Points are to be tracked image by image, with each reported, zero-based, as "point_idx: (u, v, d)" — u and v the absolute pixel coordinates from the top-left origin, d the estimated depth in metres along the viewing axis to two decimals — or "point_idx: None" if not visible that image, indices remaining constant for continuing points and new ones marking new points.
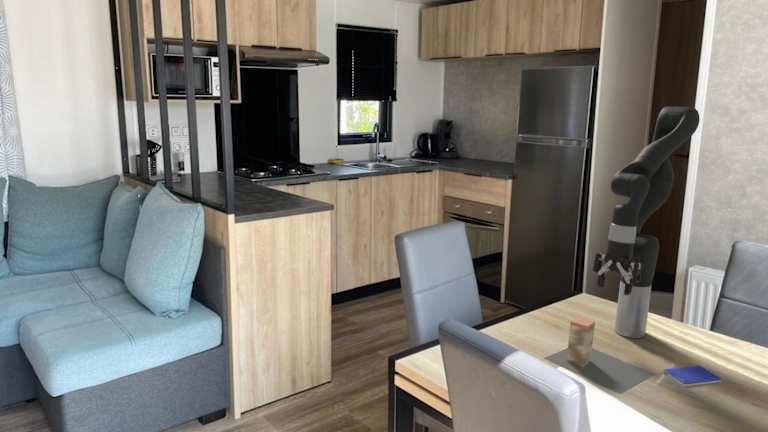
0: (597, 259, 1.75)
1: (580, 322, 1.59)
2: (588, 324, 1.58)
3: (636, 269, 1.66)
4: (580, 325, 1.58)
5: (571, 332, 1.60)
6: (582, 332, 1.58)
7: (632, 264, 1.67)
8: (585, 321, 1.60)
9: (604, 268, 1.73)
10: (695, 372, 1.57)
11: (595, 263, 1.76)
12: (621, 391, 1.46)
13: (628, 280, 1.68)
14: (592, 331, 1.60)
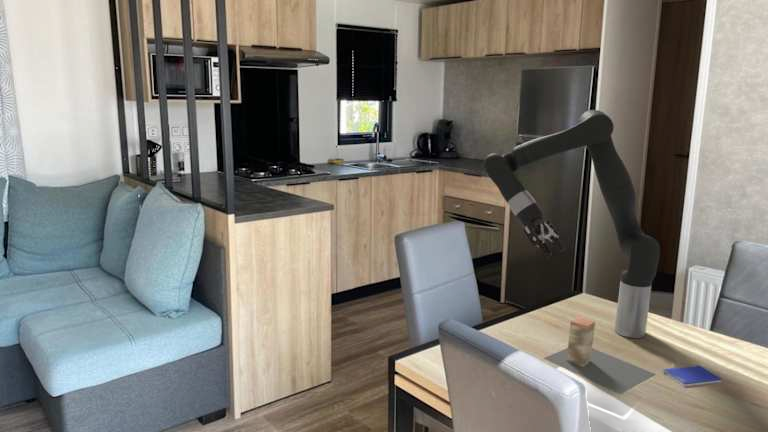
0: None
1: (580, 322, 1.59)
2: (588, 324, 1.58)
3: None
4: (580, 325, 1.58)
5: (571, 332, 1.60)
6: (582, 332, 1.58)
7: None
8: (585, 321, 1.60)
9: None
10: (694, 372, 1.57)
11: None
12: (621, 391, 1.46)
13: None
14: (592, 331, 1.60)
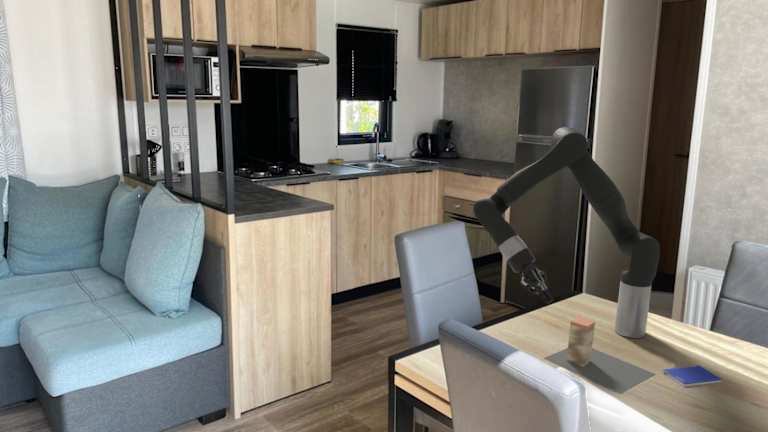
0: None
1: (580, 322, 1.59)
2: (588, 324, 1.58)
3: None
4: (580, 325, 1.58)
5: (571, 332, 1.60)
6: (582, 332, 1.58)
7: None
8: (585, 321, 1.60)
9: None
10: (694, 372, 1.57)
11: None
12: (621, 391, 1.46)
13: None
14: (592, 331, 1.60)
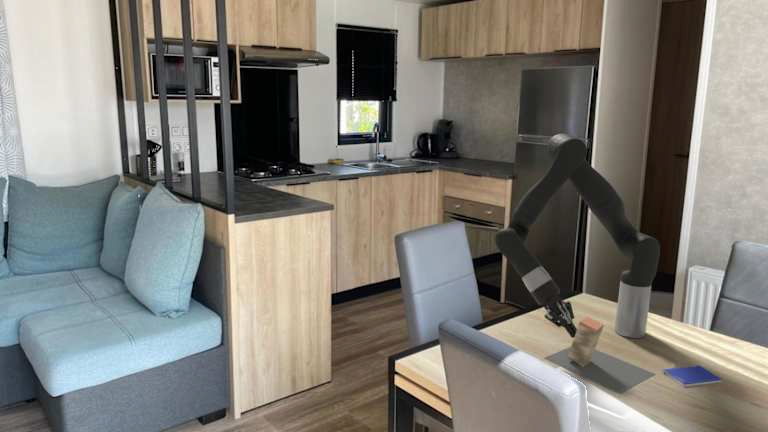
0: None
1: (589, 324, 1.57)
2: (597, 327, 1.56)
3: None
4: (589, 327, 1.56)
5: (578, 332, 1.59)
6: (589, 334, 1.56)
7: None
8: (594, 324, 1.58)
9: None
10: (694, 372, 1.57)
11: None
12: (621, 391, 1.46)
13: None
14: (599, 334, 1.58)
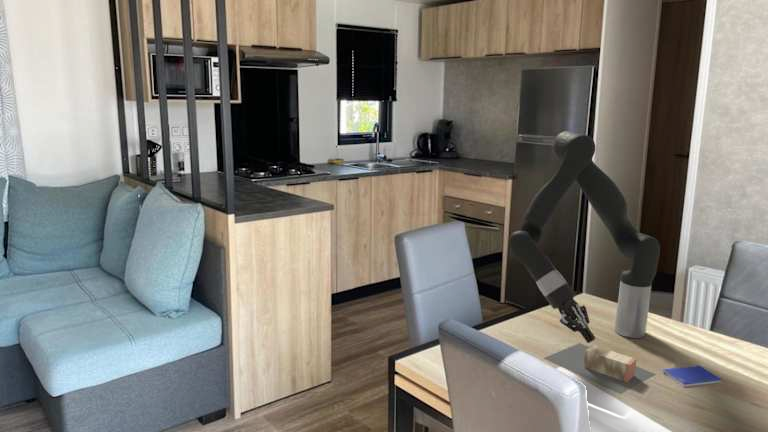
0: None
1: (630, 372, 1.51)
2: (629, 378, 1.52)
3: None
4: (627, 374, 1.51)
5: (617, 363, 1.52)
6: (619, 374, 1.52)
7: None
8: (632, 372, 1.52)
9: None
10: (694, 372, 1.57)
11: None
12: (621, 391, 1.46)
13: None
14: None
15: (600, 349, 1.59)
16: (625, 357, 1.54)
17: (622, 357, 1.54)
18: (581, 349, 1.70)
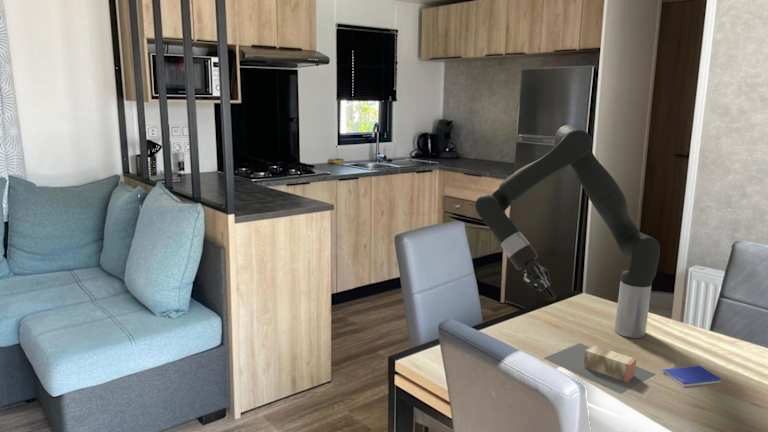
0: None
1: (630, 372, 1.51)
2: (629, 378, 1.52)
3: None
4: (627, 374, 1.51)
5: (617, 363, 1.52)
6: (619, 374, 1.52)
7: None
8: (632, 372, 1.52)
9: None
10: (694, 372, 1.57)
11: None
12: (621, 391, 1.46)
13: None
14: None
15: (600, 349, 1.59)
16: (625, 357, 1.54)
17: (622, 357, 1.54)
18: (581, 349, 1.70)
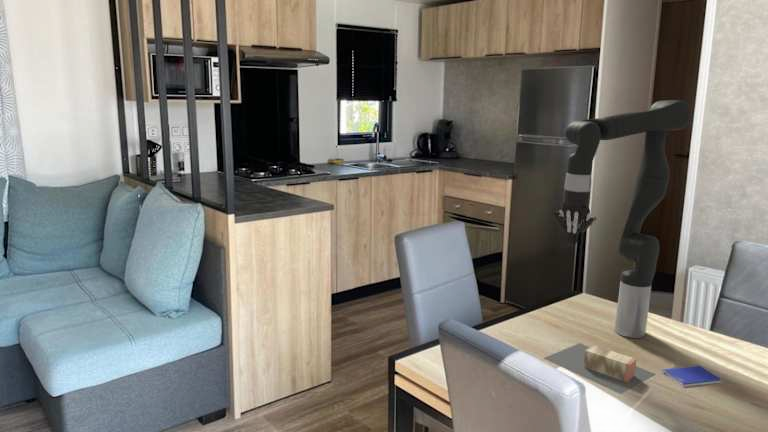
0: (558, 217, 1.73)
1: (630, 372, 1.51)
2: (629, 378, 1.52)
3: (589, 223, 1.67)
4: (627, 374, 1.51)
5: (617, 363, 1.52)
6: (619, 374, 1.52)
7: (588, 216, 1.67)
8: (632, 372, 1.52)
9: (569, 222, 1.71)
10: (694, 372, 1.57)
11: (560, 221, 1.73)
12: (621, 391, 1.46)
13: (575, 231, 1.70)
14: None
15: (600, 349, 1.59)
16: (625, 357, 1.54)
17: (622, 357, 1.54)
18: (581, 349, 1.70)
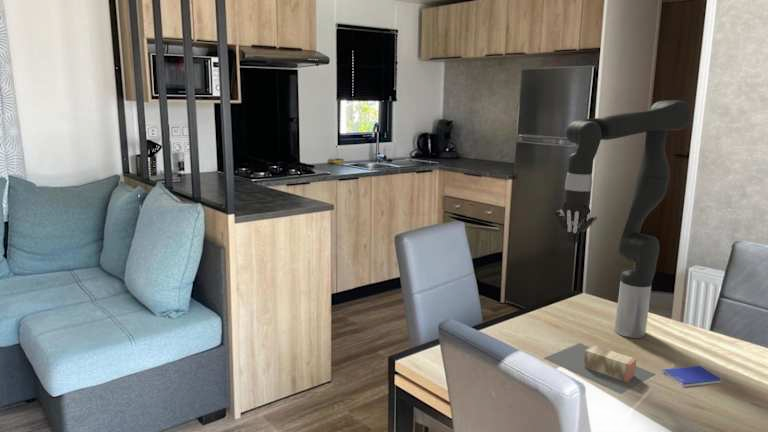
0: (559, 216, 1.73)
1: (630, 372, 1.51)
2: (629, 378, 1.52)
3: (589, 223, 1.67)
4: (627, 374, 1.51)
5: (617, 363, 1.52)
6: (619, 374, 1.52)
7: (589, 215, 1.67)
8: (632, 372, 1.52)
9: (569, 221, 1.70)
10: (694, 372, 1.57)
11: (560, 221, 1.73)
12: (621, 391, 1.46)
13: (575, 230, 1.70)
14: None
15: (600, 349, 1.59)
16: (625, 357, 1.54)
17: (622, 357, 1.54)
18: (581, 349, 1.70)
